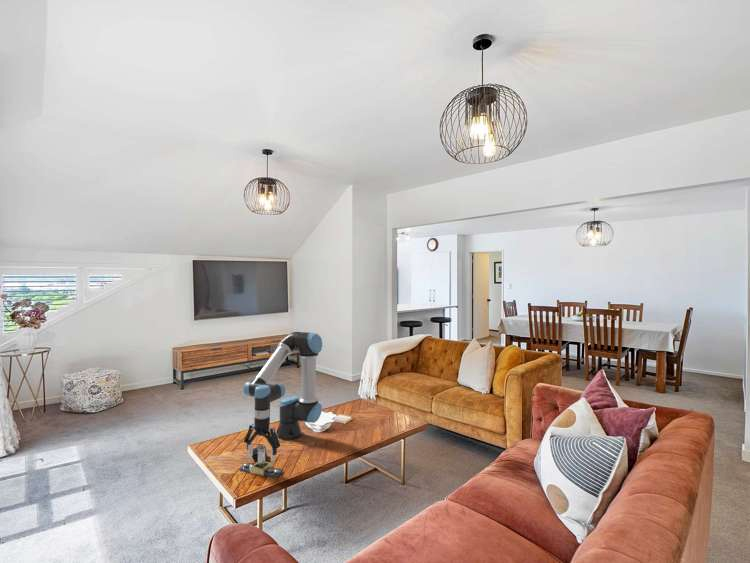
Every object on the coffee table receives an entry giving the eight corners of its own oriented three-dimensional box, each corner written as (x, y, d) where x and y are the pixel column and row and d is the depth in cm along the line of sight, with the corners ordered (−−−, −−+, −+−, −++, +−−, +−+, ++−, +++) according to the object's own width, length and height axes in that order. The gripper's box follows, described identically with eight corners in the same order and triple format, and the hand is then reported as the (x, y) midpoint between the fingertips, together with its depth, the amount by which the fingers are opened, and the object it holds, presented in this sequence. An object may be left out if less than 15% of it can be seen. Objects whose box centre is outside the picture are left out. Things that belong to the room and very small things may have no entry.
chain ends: (248, 463, 203) (248, 458, 203) (284, 471, 196) (284, 465, 196) (238, 470, 196) (238, 464, 196) (275, 478, 189) (275, 472, 189)
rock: (274, 456, 212) (274, 445, 212) (264, 463, 204) (264, 452, 204) (258, 453, 216) (258, 443, 216) (248, 460, 207) (248, 450, 207)
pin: (260, 468, 199) (260, 445, 199) (267, 469, 197) (267, 446, 197) (255, 472, 195) (255, 448, 195) (262, 473, 193) (262, 449, 193)
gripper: (236, 416, 196) (236, 457, 197) (279, 422, 188) (278, 466, 189) (246, 411, 203) (245, 451, 204) (287, 417, 195) (287, 459, 196)
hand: (261, 458), depth 196 cm, fingers open, 13 cm apart
